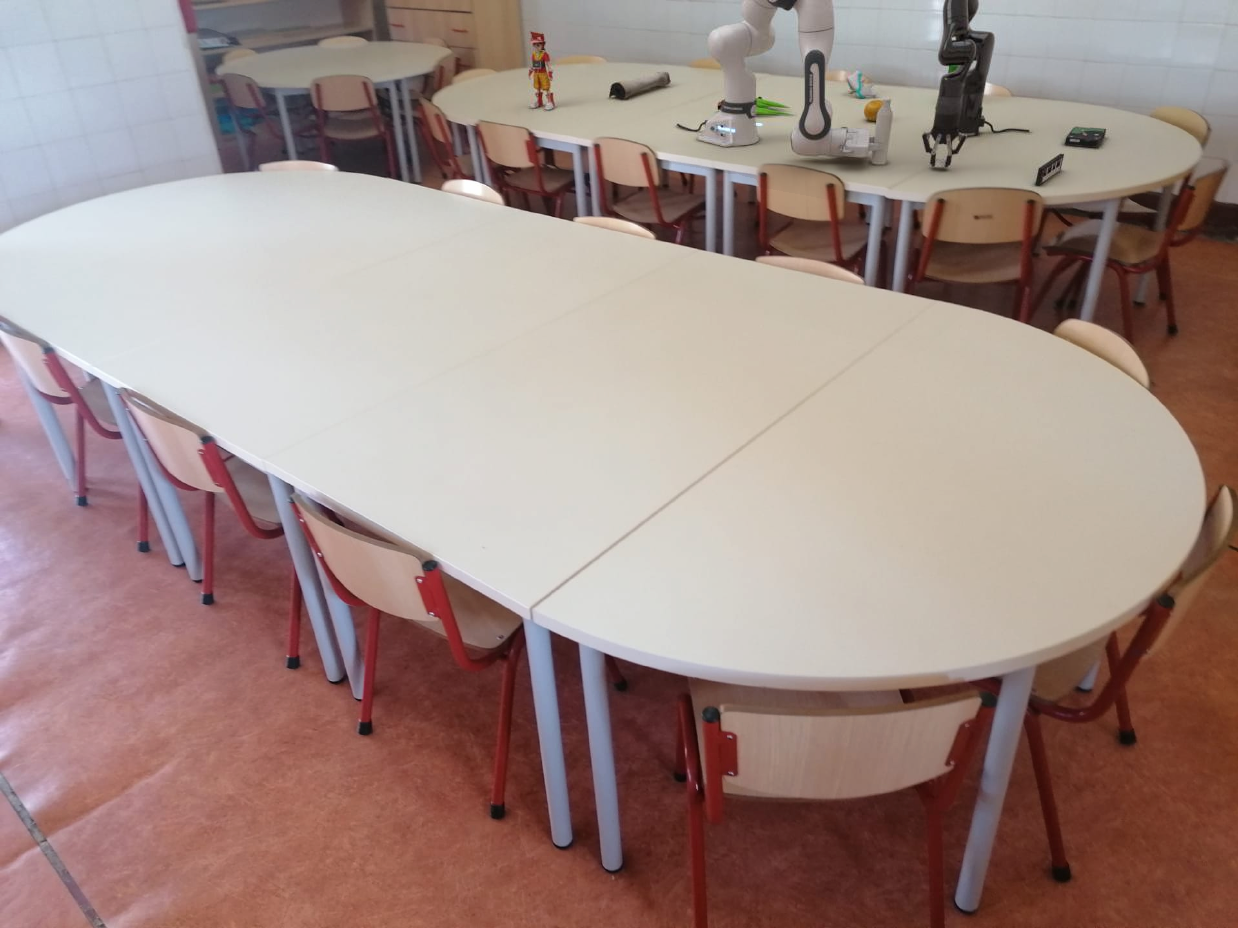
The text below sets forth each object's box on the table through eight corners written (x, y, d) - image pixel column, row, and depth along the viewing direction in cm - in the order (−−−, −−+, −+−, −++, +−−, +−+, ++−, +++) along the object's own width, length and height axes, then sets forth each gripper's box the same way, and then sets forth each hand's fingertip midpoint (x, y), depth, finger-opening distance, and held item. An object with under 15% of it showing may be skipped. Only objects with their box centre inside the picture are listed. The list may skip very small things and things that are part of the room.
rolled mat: (651, 76, 408) (662, 61, 399) (662, 93, 408) (674, 79, 400) (605, 92, 391) (616, 77, 383) (617, 110, 391) (628, 95, 383)
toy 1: (525, 109, 381) (517, 32, 364) (534, 104, 388) (527, 28, 371) (550, 110, 377) (543, 32, 360) (559, 105, 384) (553, 28, 367)
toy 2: (708, 113, 354) (778, 126, 342) (709, 100, 352) (780, 111, 339) (738, 103, 375) (805, 114, 362) (739, 90, 372) (807, 101, 359)
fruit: (858, 112, 335) (872, 93, 332) (861, 115, 343) (874, 96, 340) (877, 125, 334) (891, 105, 331) (879, 128, 342) (892, 108, 339)
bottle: (888, 164, 294) (896, 100, 283) (873, 165, 294) (881, 101, 282) (883, 160, 298) (892, 96, 287) (869, 161, 298) (877, 97, 286)
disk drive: (1097, 149, 296) (1104, 136, 306) (1099, 140, 294) (1106, 128, 304) (1064, 145, 301) (1072, 133, 311) (1065, 137, 299) (1074, 125, 309)
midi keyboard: (1039, 185, 269) (1043, 168, 266) (1035, 184, 270) (1038, 168, 267) (1060, 170, 279) (1064, 154, 277) (1056, 169, 280) (1060, 153, 277)
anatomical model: (842, 70, 374) (865, 63, 373) (844, 95, 380) (867, 89, 379) (852, 77, 361) (877, 71, 360) (855, 104, 367) (879, 97, 366)
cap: (947, 164, 287) (948, 159, 286) (944, 168, 284) (945, 162, 283) (935, 163, 289) (936, 158, 288) (932, 166, 286) (933, 161, 285)
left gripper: (839, 142, 286) (884, 142, 282) (842, 125, 302) (885, 125, 299) (837, 162, 289) (882, 162, 286) (841, 144, 305) (883, 144, 302)
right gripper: (973, 108, 277) (964, 164, 287) (926, 106, 282) (918, 161, 292) (971, 114, 272) (961, 171, 281) (922, 112, 276) (915, 168, 286)
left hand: (883, 143), depth 292 cm, fingers closed on bottle, 5 cm apart
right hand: (939, 166), depth 287 cm, fingers closed on cap, 3 cm apart
